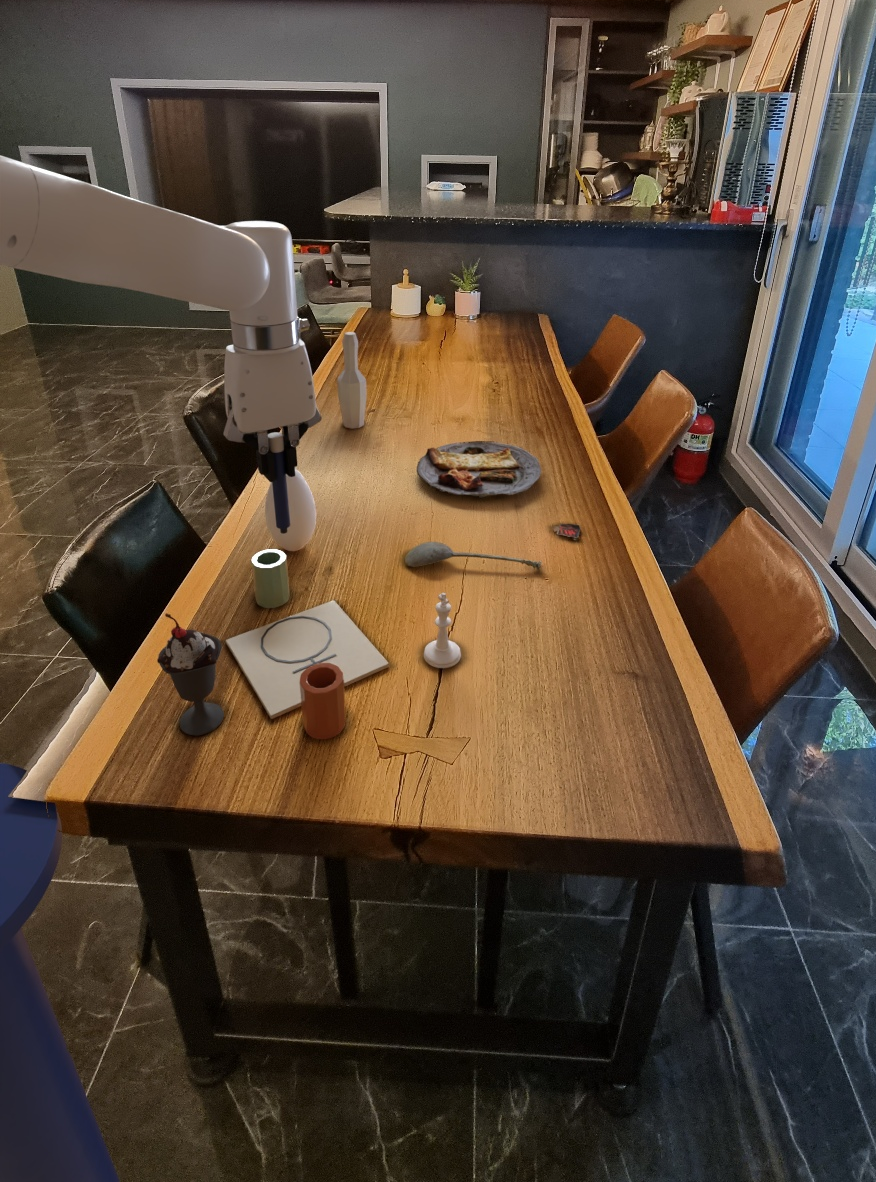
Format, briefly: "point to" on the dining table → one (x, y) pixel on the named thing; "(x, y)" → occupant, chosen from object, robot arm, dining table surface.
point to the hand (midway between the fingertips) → (278, 474)
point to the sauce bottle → (293, 514)
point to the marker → (279, 482)
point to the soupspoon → (450, 555)
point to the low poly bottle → (351, 385)
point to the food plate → (479, 468)
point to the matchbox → (568, 530)
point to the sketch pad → (302, 654)
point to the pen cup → (270, 578)
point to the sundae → (193, 676)
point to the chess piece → (442, 639)
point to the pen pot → (323, 700)
